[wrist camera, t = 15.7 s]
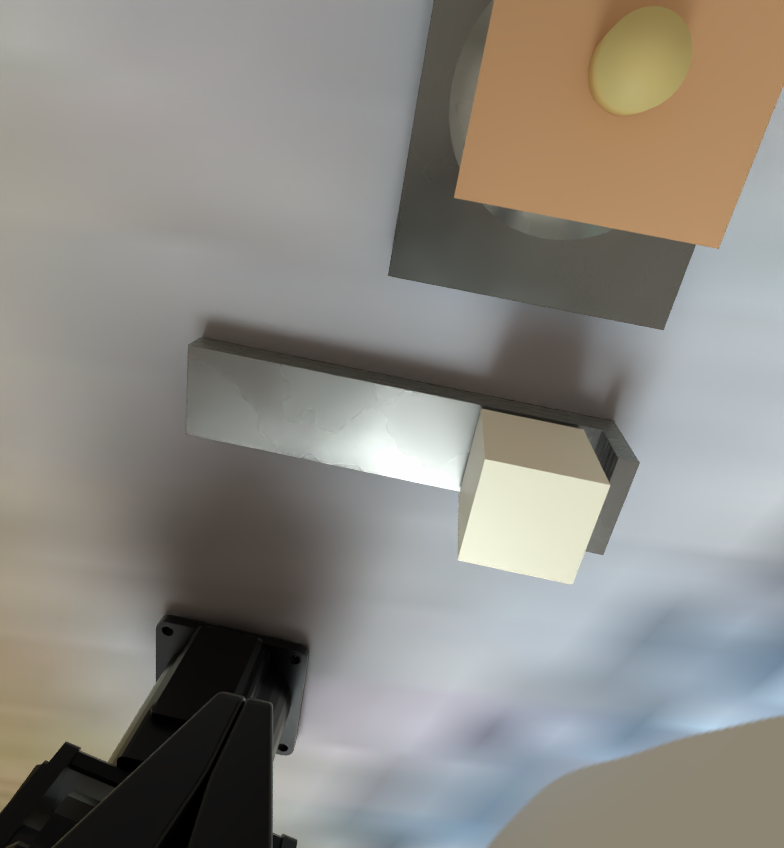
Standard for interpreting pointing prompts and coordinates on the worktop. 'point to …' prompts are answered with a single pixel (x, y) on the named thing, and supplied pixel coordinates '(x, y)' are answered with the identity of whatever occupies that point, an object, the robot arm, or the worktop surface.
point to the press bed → (510, 210)
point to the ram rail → (369, 420)
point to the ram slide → (529, 497)
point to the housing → (624, 111)
